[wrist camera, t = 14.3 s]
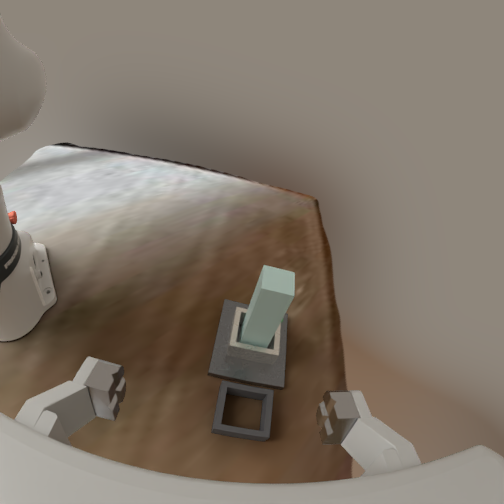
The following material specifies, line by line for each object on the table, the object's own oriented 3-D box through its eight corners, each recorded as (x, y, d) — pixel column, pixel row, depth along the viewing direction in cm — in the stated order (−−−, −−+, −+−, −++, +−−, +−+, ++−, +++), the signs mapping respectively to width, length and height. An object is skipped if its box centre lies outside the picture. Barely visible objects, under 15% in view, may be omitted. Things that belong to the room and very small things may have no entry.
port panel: (281, 389, 40) (291, 378, 38) (207, 375, 39) (211, 363, 37) (285, 317, 51) (293, 303, 48) (223, 302, 50) (227, 287, 48)
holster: (264, 441, 33) (269, 437, 32) (211, 432, 33) (213, 428, 31) (268, 396, 39) (273, 390, 37) (219, 387, 38) (222, 380, 37)
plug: (263, 354, 43) (294, 296, 34) (237, 348, 43) (261, 288, 34) (265, 333, 46) (294, 272, 37) (240, 327, 46) (263, 264, 37)
